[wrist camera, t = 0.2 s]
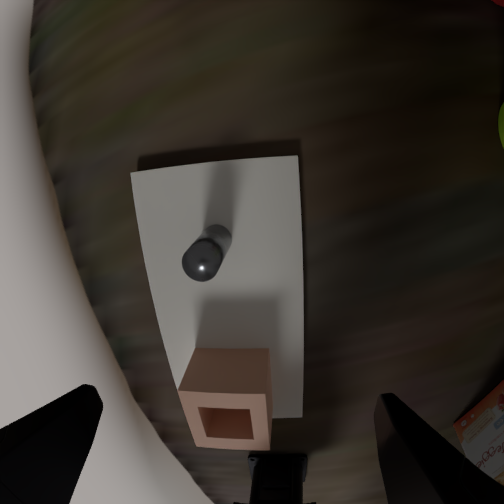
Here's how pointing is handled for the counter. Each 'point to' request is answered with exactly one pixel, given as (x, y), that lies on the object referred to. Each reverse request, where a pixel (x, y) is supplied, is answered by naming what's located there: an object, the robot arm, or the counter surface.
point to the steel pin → (207, 253)
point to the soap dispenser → (501, 124)
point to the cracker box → (485, 434)
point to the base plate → (229, 264)
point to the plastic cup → (499, 2)
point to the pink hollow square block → (228, 398)
